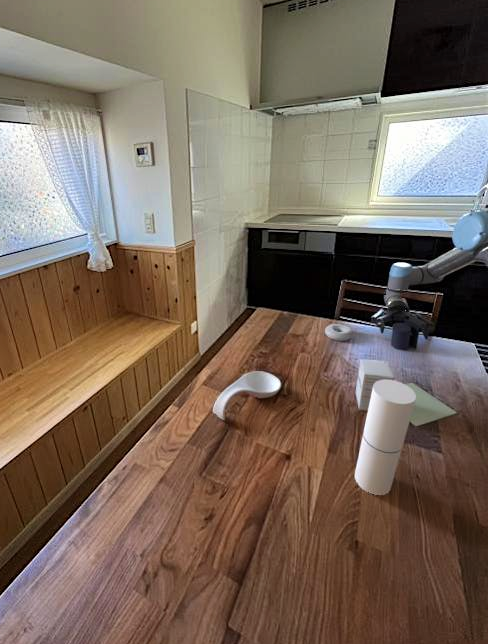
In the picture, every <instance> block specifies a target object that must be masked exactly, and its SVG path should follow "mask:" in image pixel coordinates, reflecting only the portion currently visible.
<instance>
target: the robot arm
mask: <svg viewBox="0 0 488 644" xmlns="http://www.w3.org/2000/svg"><path fill="white" fill-rule="evenodd" d="M451 239H452V243H453V245H454V248H453V249H451V250H449V251H448V252H446V253H443V254H441V255H440V256H438V257H437V258H435V259H433V260H431V261H430V262H428V263H425V264H424V265H418V266H413V265H412V264H410V263H407V262H396V263H392V265H391V267H390V271H389V276H388V282H387V287H386V289H385V291H386V295H384V294H383V300H384V304H385V308H386V307H388V308H386V310H384V308H380V309H379V311H377V312H376V313H374V314H373V315H372V316H371V320H370V323H371V324H375V327H377V328H379V330H380V331H379V332H380V334H382V335H383V334H384V331H385V323H388V322H393V321H400V322H404V321H405V319H407V320H410V321H412V322H415V323H417V324H420V330H421V333H422V335H423V338H424V340H428V339H429V336H430V334H431V331H434V328H435V323H434V322H432V321H431V320H429V319H428V318H427V317H425V316H423V315H422V314H421V313H420V312H415V314H413V313H412V312H411V311H410V307H409V305H408V302H407V299H405V298H402V294H400V293H401V292H399V291H400V290H406V291H407V292H408V290H409V286H415V285H423V284H434V283H437V282H441V281H442V280H444V278H445V276H447V275H450V274H452V273H454V272H455V271H458V270H460V269H462V268H464V267H466V266H469V265H470V264H471V265H472V264H473V263H475V262H480V263H484V264H485V265H486V267H487V268H488V210H482V209H481V210H477V211H472V212H468V213H466V214H464V215H463V216H461V217H460V218H459V219H458V220H457V221H456V223H455V224H454V226H453V231H452V234H451ZM389 288H390V289H389ZM396 289H400V290H396ZM405 310H406V311H405Z"/></svg>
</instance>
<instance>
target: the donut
mask: <svg viewBox="0 0 488 644" xmlns="http://www.w3.org/2000/svg"><path fill="white" fill-rule="evenodd" d="M324 333H325V335H326V337H327V338H329V339H330V340H334V341H338V342H344V341H345V342H346V341H348V340H350V339H351V338H352V337H353V336H354V335H353V334H354V333H353V330H352V328H350V327H349V326H347V325H345V324H339V323H331V324H329V325H327V326H326V327H325V329H324Z"/></svg>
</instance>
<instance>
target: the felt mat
mask: <svg viewBox="0 0 488 644" xmlns="http://www.w3.org/2000/svg"><path fill="white" fill-rule="evenodd" d="M404 384H405V383H404ZM405 385H407V386H408V387H410V388H411V389H412V390H413V391H414V392H415V394H416V400H415V403H414V407H413V410H412V414H411V418H410V421H409V423H411V424H412V425H413V426H414V427H416V428H417V427H419V426H423V425H427V424H429V423H431V422H435V421H438V420H442V419H444V418H447V417H451V416H454V415H456V414H458V412H457V411H455V410H454V409H452V408H451V407H449V406H448V405H446V404H445V403H444V402H442V401H440V399H438V398H436V397H435V396H434V395H432V394H430V393H429V392H427V391H425V390H424V389H422V388H421V387H420V386H418V385H417V384H415V383H413V382H409V383H406V384H405Z"/></svg>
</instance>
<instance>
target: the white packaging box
mask: <svg viewBox="0 0 488 644" xmlns="http://www.w3.org/2000/svg"><path fill="white" fill-rule="evenodd" d="M379 380H394V381H395V375H394V373H393V369H392V368H391V365H390V362H389V361H387V360H376V359H365V358H363V359H361V358H360V360H359V367H358V375H357V381H356V387H355V396H356V401H357V406H358V410H359V411H366V412H368V408H369V403H370V398H371V394H372V389H373V385H374V383H375V382H377V381H379Z"/></svg>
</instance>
